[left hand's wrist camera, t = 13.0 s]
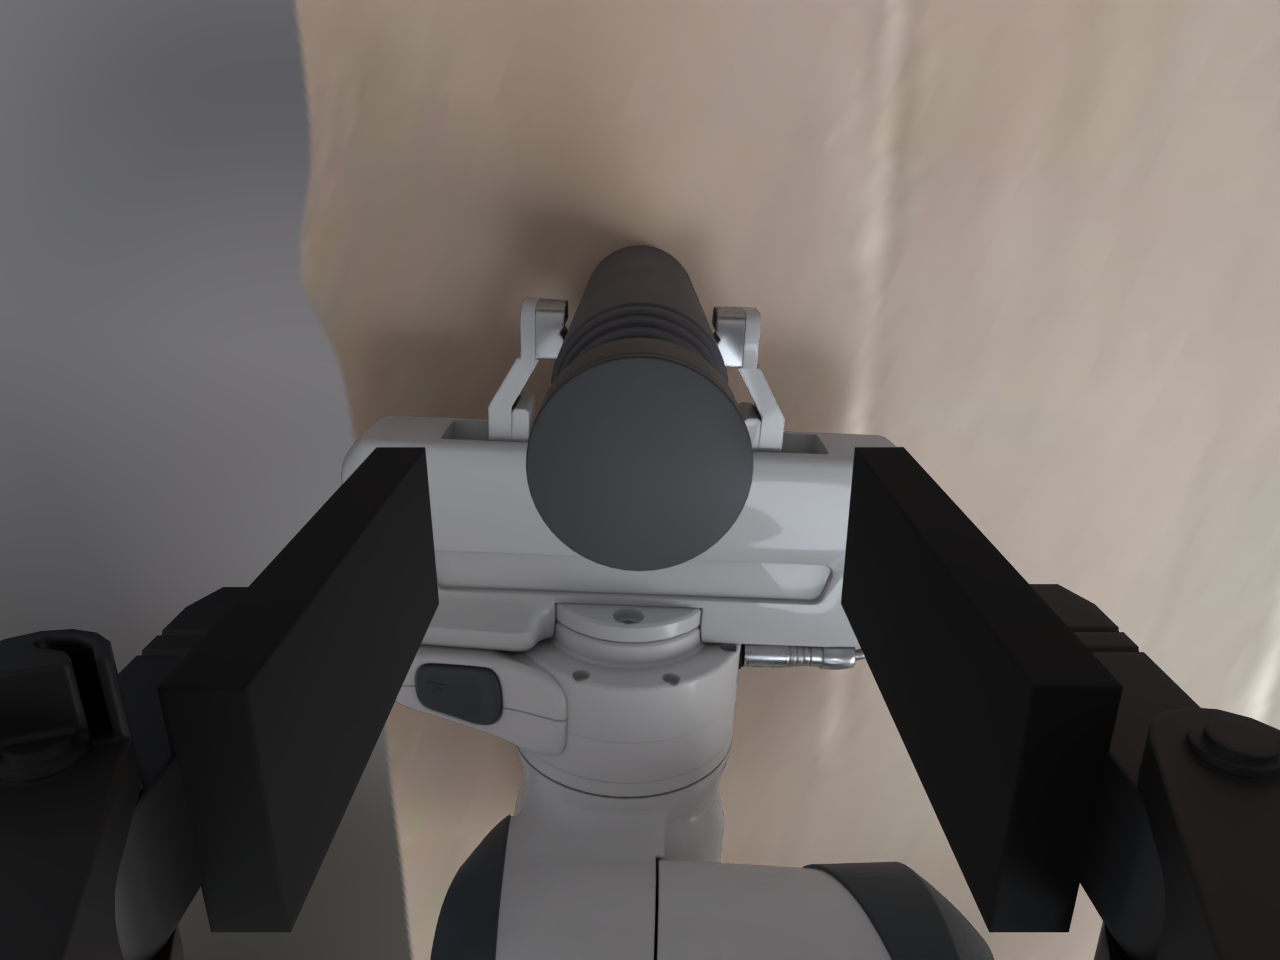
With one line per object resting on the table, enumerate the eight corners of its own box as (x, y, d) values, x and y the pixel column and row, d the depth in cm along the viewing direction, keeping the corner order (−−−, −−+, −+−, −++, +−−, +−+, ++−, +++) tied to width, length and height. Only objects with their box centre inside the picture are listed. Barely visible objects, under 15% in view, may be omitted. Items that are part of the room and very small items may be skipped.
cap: (786, 422, 18) (800, 450, 16) (656, 570, 19) (658, 610, 18) (620, 292, 17) (618, 307, 15) (495, 456, 18) (481, 487, 17)
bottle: (716, 291, 36) (803, 442, 17) (648, 376, 37) (658, 606, 18) (630, 222, 35) (617, 297, 16) (563, 311, 36) (478, 481, 17)
